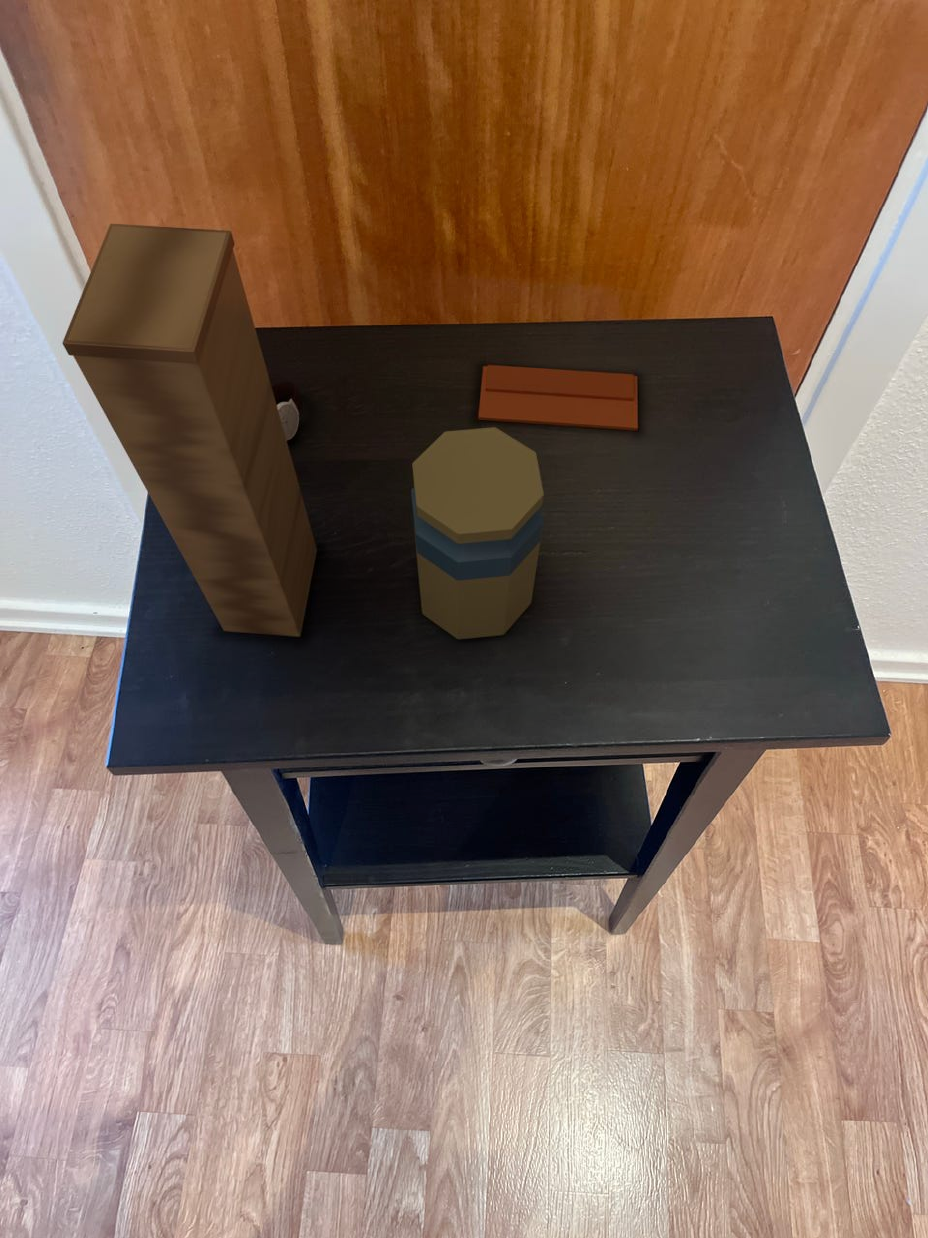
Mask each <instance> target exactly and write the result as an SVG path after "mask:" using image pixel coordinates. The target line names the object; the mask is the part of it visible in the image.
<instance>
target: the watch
mask: <svg viewBox="0 0 928 1238" xmlns="http://www.w3.org/2000/svg"><path fill="white" fill-rule="evenodd" d="M271 387H272V390H273V394H274V398H275V401H276V402H277V401H279V400H281V399H284V398H286V397H291V398H290V399H289V400H288V401H281V402H279V403H278V404H276V405H277V408H278V412H279V416H280V419H281V423H282V426H283V430H284V433H285V437H286V441H287V442H288V441H289V440H291V439H292V438H293V437H294V436H295V435H296V433H297V431H298V427H299V421H300V417H299V416H300V411H301V409H302V407H303V399H302V396H301V393H300V391H299V388H298V386H297V384H296V383H295V382H294V381H291V380H285V381H279V382H276V383H274V384H271Z"/></svg>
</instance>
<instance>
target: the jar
mask: <svg viewBox="0 0 928 1238" xmlns="http://www.w3.org/2000/svg"><path fill="white" fill-rule="evenodd" d="M411 465H412V477H413V487H412V488H411V489H410V493H411V494H410V496H411V505H412V517H413V529H414V541H415V553H416V554H415V555H416V563H417V574H418V575H417V576H418V586H419V595H420V605H421V614H422V616H425V618H428V619H429V620H430V621H431V622H433V623H434V624H435V625H437V626H439V627H440V628H441V629H443V630H444V631H446V632H447V633H448V634H449V635H450V636H452V637H453V638H455V639H457V640H467V639H476V638H486V637H496V636H497V637H498V636H504V635H505V634H506V633H507V632H508V631H509V629H510V628H511V627H512V626H513V625H514V624H515V623H516V621H517V620H518V619H519V618H520V617H521V615H523V613H524V612H525V611H526V610H527V609H528V608H529V607H530V606H531V604H532V599H533V594H534V587H535V581H536V580H535V579H536V573H537V568H538V562H539V561H538V560H539V554H540V548H541V542H542V541H541V540H542V534H543V529H544V521H545V520H544V517H543V511H542V506H543V504H544V503H543V502H544V496H545V494H544V488H543V483H542V477H541V473H540V466H539V462H538V457H537V452H536V451H534V450H533V449H531V448H529V447H528V446H526V445H525V444H523V443H522V442H520V441H518V440H517V439H515V438H513V437H512V436H510V435H508V434H507V433H505V432H504V431H502V430H500V429H499V428H497V427H495V426H494V427H483V428H473V429H471V428H470V429H459V430H447V431H444V432H443V433H442V434H441V435H440V436H438V438H436V440H435V441H433V442H432V444H431V445H430V446H429V447H427V449H426V450H424V451H423V452H422V453H421V455H419V456H418V457H417V458H416V459H415V460H414V461H413V462H412V463H411Z"/></svg>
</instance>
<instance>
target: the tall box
mask: <svg viewBox="0 0 928 1238" xmlns="http://www.w3.org/2000/svg"><path fill="white" fill-rule="evenodd" d="M234 248H235V240H234V238H233V234H232V231H231V230H223V229H221V230H220V229H204V228H189V227H188V228H187V227H176V226H175V227H173V226H172V227H171V226H158V225H157V226H156V225H155V226H154V225H140V224H139V225H138V224H124V223H122V224H121V223H110V224H109V225H108V228H107V231H106V233H105V236H104V238H103V240H102V243H101V246H100V248H99V251H98V253H97V255H96V258H95V261H94V263H93V266H92V268H91V270H90V273H89V275H88V278H87V280H86V283H85V285H84V288H83V290H82V293H81V294H80V297H79V300H78V302H77V306H76V308H75V310H74V312H73V315H72V318H71V320H70V323H69V325H68V328H67V330H66V332H65V335H64V337H63V339H62V345H63V348H64V350H65V351H66V353H67V355H68V356H71V357H72V356H73V358H74V360H75V362H76V364H77V365H78V368H79V369H80V371H81V373H82V375H83V376H84V378H85V380H86V382H87V384H88V386H89V387H90V389H91V391H92V393H93V395H94V397H95V398H96V400H97V402H98V404H99V406H100V407H101V409H102V411H103V413H104V415H105V417H106V418H107V420H108V422H109V424H110V426H111V427H112V430H113V432H114V433H115V435H116V437H117V439H118V440H119V442H120V444H121V446H122V448H123V449H124V451H125V453H126V455H127V457H128V459H129V460H130V462H131V464H132V466H133V467H134V470H135V471H136V473H137V475H138V477H139V479H140V481H141V482H142V484H143V486H144V488H145V490H146V492H147V493H148V495H149V497H150V499H151V501H152V502H153V504H154V506H155V508H156V510H157V512H158V514H159V515H160V517H161V519H162V521H163V523H164V524H165V526H166V529H167V530H168V532H169V533H170V535H171V537H172V539H173V541H174V543H175V544H176V546H177V548H178V550H179V552H180V554H181V555H182V557H183V559H184V561H185V563H186V564H187V566H188V568H189V570H190V572H191V573H192V576H193V577H194V579H195V581H196V583H197V584H198V586H199V589H200V590H201V592H202V594H203V595H204V597H205V599H206V601H207V603H208V605H209V607H210V608H211V610H212V612H213V614H214V616H215V618H216V619H217V621H218V623H219V625H220V626H221V628H222V630H223V632H231V633H245V634H256V635H257V634H258V635H259V634H260V635H271V636H283V637H298V638H300V637H301V636H302V631H303V630H302V629H303V626H304V619H305V615H306V609H307V604H308V599H309V594H310V588H311V583H312V578H313V572H314V568H315V564H316V563H315V562H316V557H317V553H318V548H317V545H316V541H315V539H314V538H315V537H314V535H313V530H312V527H311V523H310V520H309V517H308V512H307V509H306V506H305V502H304V498H303V495H302V492H301V488H300V484H299V480H298V476H297V473H296V470H295V466H294V463H293V460H292V456H291V451H290V449H289V444H288V440H287V441H286V437H285V433H284V430H283V426H282V423H281V419H280V416H279V412H278V408H277V405H278V404H277V401H275V398H274V394H273V390H272V387H271V386H272V384H271V380H270V377H269V373H268V370H267V366H266V362H265V359H264V355H263V351H262V348H261V344H260V341H259V337H258V333H257V330H256V327H255V322H254V320H253V316H252V312H251V308H250V305H249V302H248V298H247V295H246V291H245V287H244V284H243V280H242V276H241V272H240V269H239V266H238V261H237V258H236V255H235V252H234Z"/></svg>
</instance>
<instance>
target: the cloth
mask: <svg viewBox="0 0 928 1238" xmlns="http://www.w3.org/2000/svg"><path fill="white" fill-rule="evenodd" d="M638 403H639V401H638V376H637V375H634V374H632V373H620V372H619V373H618V372H603V371H587V370H586V371H585V370H569V369H557V368H556V369H555V368H542V367H527V366H512V365H511V366H509V365H496V364H487V366H486V365H483V366H482V375H481V385H480V398H479V405H478V406H479V407H478V418H477V419H478V421H490V422H506V423H516V424H517V423H519V424H531V425H533V424H535V425H548V426H564V427H575V428H576V427H578V428H592V429H607V430H622V431H638V429H639V410H638V409H639V405H638Z"/></svg>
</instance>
